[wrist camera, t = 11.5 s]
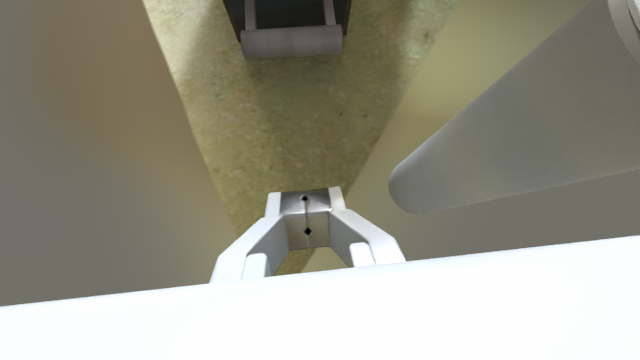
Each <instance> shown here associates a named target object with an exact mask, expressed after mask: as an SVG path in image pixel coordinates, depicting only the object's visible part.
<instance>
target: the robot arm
mask: <svg viewBox="0 0 640 360" xmlns="http://www.w3.org/2000/svg"><path fill="white" fill-rule="evenodd" d="M330 246H331V248H332V249H333V251H334V252H335V253H336V254H337V255H338V256H339V257H340V258H341V259H342V260H343V261H344V262H345V264H346V265H347V266H348V267H349V268H344V269H335V270H326V271H316V272H308V273H298V274H289V275H280V276H274V274H275V273H276V271H277V270H278V268H279V267H280V265H281V264H282V262H283V261H284V259H285V258H286V256H287V254H288V253H289V251H292V250H299V249H307V248H317V247H330ZM0 360H640V235H639V236H630V237H622V238H613V239H604V240H595V241H586V242H576V243H568V244H559V245H550V246H541V247H532V248H523V249H514V250H505V251H496V252H488V253H478V254H470V255H461V256H451V257H442V258H433V259H425V260H416V261H407V262H406V260H405V258H404V256H403V254H402V252H401V250H400V248H399V246H398V244H397V242H396V240H395V238H394V237H392V236H391V235H389V234H388V233H386V232H385V231H383V230H381V229H380V228H378V227H377V226H375V225H374V224H372V223H371V222H369V221H368V220H366V219H365V218H363V217H362V216H360V215H359V214H357V213H356V212H354V211H352V210H351V209H347V208H346V205H345V201H344V198H343V195H342V191H341V188H340V187H339V186H337V187H329V188H322V189H314V190H301V191H287V192H275V193H269V194H268V199H267V205H266V211H265V217H264V218H260V219H259V220H258V221H257V222H256V223H255V224H254V225H253V226H251V227H250V228H249V229H248V230H247V231H246V232H245V233H244V234H243V235H242V236H240V237H239V238H238V239H237V240H236V241H235V242H234V243H233V244H232V245H230V246H229V247H228V248H227V249H226V250H225V251H224V252H223V253H222V254H221V255H220V256H218V258H217V262H216V264H215V267H214V270H213V273H212V276H211V279H210V282H209V284H200V285H191V286H182V287H173V288H164V289H155V290H145V291H136V292H127V293H119V294H109V295H101V296H93V297H92V296H91V297H82V298H74V299H65V300H56V301H47V302H38V303H29V304H20V305H11V306H2V307H0Z"/></svg>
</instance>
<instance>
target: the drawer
mask: <svg viewBox="0 0 640 360" xmlns="http://www.w3.org/2000/svg"><path fill="white" fill-rule="evenodd" d="M227 3H228V5H229V8H230V11H231V14H232V16H233V19H234V22H235V25H236V27H237V30H238V33H239V35H240V38H241V45H242V50H243V53H244V56H245V58H246V60H257V59H272V58H286V57H301V56H315V55H330V54H341V52H342V42H343V38H342V37H343V31H344V24H345V17H346V10H347V3H348V0H227Z"/></svg>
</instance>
